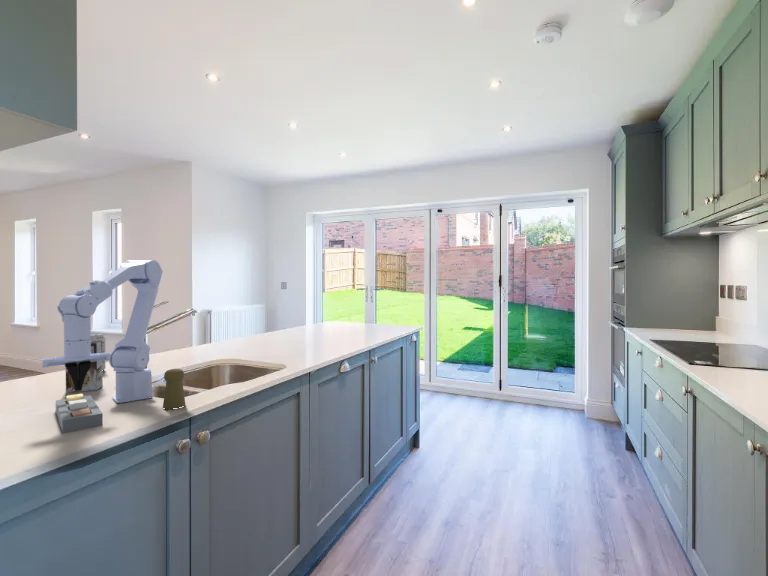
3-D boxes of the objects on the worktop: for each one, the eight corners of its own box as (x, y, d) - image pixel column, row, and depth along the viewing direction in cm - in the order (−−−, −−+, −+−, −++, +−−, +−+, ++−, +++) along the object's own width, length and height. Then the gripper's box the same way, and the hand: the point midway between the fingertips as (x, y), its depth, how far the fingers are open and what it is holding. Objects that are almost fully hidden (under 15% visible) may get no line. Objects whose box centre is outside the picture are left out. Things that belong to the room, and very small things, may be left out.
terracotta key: (88, 420, 105) (88, 408, 105) (90, 423, 103) (90, 412, 103) (71, 423, 103) (71, 411, 103) (73, 427, 100) (72, 415, 100)
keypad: (90, 405, 119) (90, 395, 119) (102, 425, 103) (102, 413, 103) (55, 411, 113) (55, 400, 113) (62, 432, 97) (62, 420, 97)
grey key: (85, 409, 111) (85, 398, 111) (87, 412, 108) (87, 401, 108) (68, 412, 108) (68, 401, 108) (70, 415, 106) (70, 404, 105)
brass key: (82, 403, 116) (82, 393, 116) (83, 406, 113) (83, 396, 113) (66, 406, 113) (66, 395, 113) (67, 409, 111) (67, 398, 111)
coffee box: (103, 385, 141) (103, 340, 141) (97, 390, 135) (97, 342, 135) (72, 388, 138) (71, 341, 138) (64, 392, 132) (64, 343, 132)
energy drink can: (106, 369, 168) (106, 333, 168) (104, 372, 163) (104, 335, 162) (88, 370, 165) (88, 334, 165) (86, 373, 160) (86, 336, 159)
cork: (180, 402, 122) (180, 366, 122) (189, 406, 119) (189, 369, 118) (158, 407, 118) (158, 369, 118) (167, 411, 114) (167, 372, 114)
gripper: (43, 344, 100) (44, 398, 101) (112, 338, 110) (112, 388, 111) (41, 341, 106) (42, 392, 106) (107, 336, 116) (108, 383, 116)
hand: (78, 390), depth 109 cm, fingers closed
